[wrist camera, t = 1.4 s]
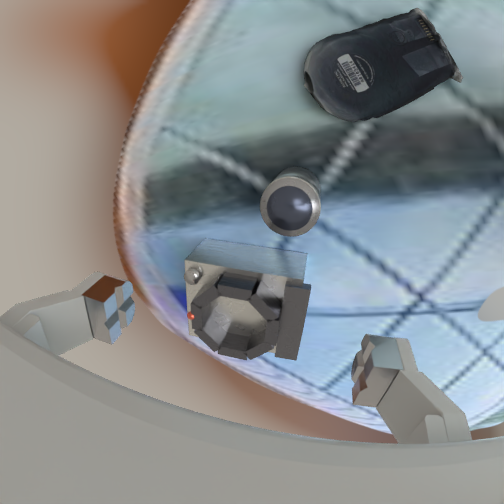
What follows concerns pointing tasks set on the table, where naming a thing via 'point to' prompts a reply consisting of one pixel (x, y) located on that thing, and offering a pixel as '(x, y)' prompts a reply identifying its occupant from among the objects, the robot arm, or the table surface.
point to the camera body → (246, 298)
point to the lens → (292, 202)
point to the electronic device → (378, 67)
